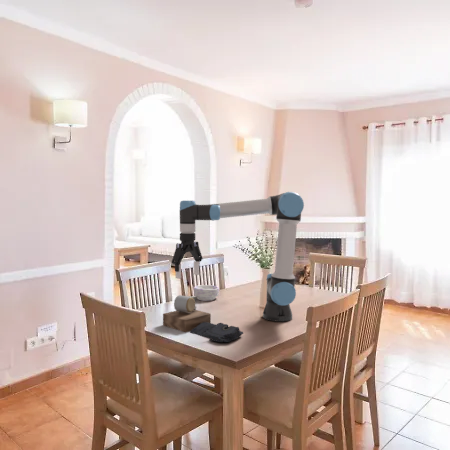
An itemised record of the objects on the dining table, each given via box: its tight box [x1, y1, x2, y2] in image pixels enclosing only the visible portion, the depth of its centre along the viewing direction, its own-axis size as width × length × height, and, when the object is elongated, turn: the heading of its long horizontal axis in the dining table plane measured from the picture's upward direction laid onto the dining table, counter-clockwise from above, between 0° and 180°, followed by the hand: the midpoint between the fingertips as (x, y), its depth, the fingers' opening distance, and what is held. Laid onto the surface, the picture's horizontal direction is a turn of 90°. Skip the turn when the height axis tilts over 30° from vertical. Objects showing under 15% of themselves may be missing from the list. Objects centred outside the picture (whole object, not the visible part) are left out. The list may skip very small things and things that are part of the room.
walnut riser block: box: [162, 309, 212, 333], centre depth 201 cm, size 16×16×6 cm
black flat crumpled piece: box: [189, 322, 244, 343], centre depth 189 cm, size 15×22×5 cm
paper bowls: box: [193, 284, 220, 302], centre depth 255 cm, size 15×15×8 cm
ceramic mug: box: [173, 294, 197, 312], centre depth 204 cm, size 11×8×8 cm
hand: (187, 276), depth 203 cm, fingers open, 13 cm apart
